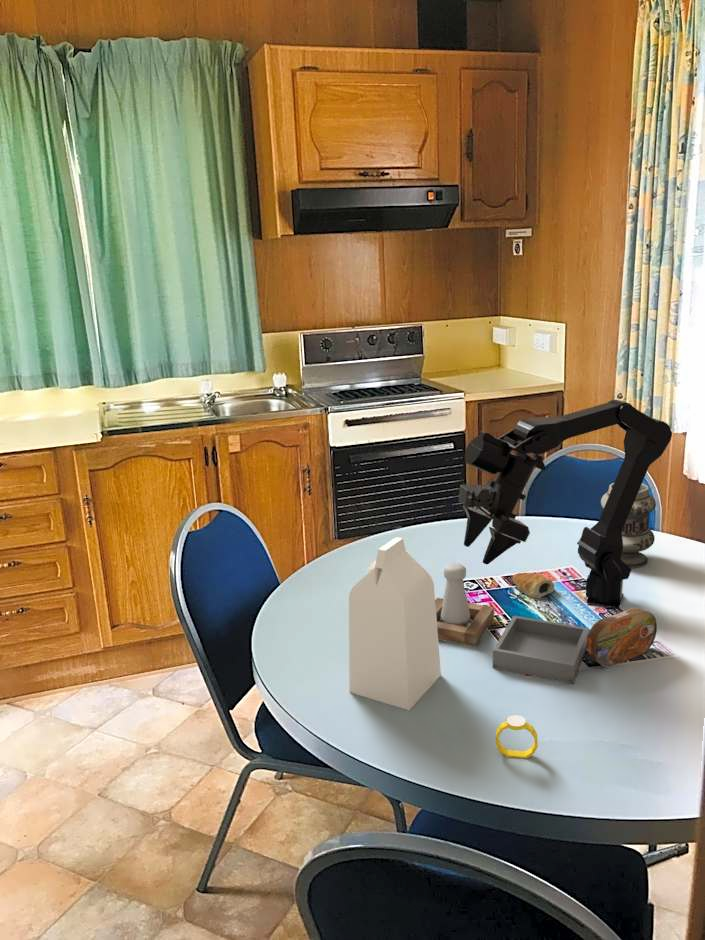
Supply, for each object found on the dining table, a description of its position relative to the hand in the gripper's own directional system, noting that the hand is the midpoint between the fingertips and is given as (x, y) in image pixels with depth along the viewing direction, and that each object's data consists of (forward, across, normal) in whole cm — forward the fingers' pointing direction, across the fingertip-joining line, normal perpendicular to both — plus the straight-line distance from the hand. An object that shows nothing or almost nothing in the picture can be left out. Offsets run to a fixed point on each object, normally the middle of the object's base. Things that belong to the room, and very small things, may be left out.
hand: (475, 554), depth 148 cm
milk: (+23, +16, -12) cm, 31 cm away
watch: (+18, +40, -2) cm, 44 cm away
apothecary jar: (-8, -17, +46) cm, 50 cm away
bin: (+10, +16, +12) cm, 22 cm away
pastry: (+5, -10, +22) cm, 25 cm away
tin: (+4, +20, +24) cm, 32 cm away
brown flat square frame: (+15, 0, +3) cm, 15 cm away
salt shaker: (+15, 0, +3) cm, 15 cm away
